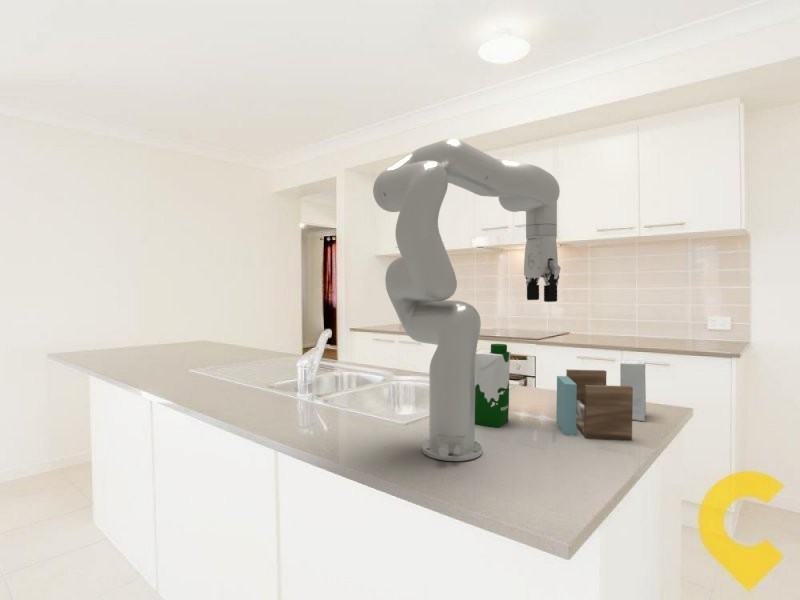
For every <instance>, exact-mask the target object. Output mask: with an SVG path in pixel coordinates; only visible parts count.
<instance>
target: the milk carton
mask: <svg viewBox="0 0 800 600" xmlns="http://www.w3.org/2000/svg"><path fill="white" fill-rule="evenodd" d="M510 363H511V351H508V345H507V344H504V343H491V344H490V350H489V349H481V350H480V349H479V350H476V360H475V425H480V426H486V427H487V426H488V427H490V428H491V427H493V428H498V429H499V428H501V427H502V426H503V425H505V424H506V423H507V422H508V421H509V411H510V410H509V409H510Z"/></svg>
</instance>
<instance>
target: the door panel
mask: <svg viewBox="0 0 800 600" xmlns="http://www.w3.org/2000/svg"><path fill="white" fill-rule="evenodd" d="M576 395H577V384H576V383H574V382H573V381H572V380H571V379H570V378H569V377H568V376H565V375H564V376H563V375H557V376H556V417H555V418H556V421H555V422H556V425H557V424H558V425H557V426H558V428H559V429H560V431H561V432H562V434H563V435H564V436H573V435H574V436H575V435H576V436H577V427H576ZM574 436H573V437H574Z"/></svg>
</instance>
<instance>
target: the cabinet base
mask: <svg viewBox="0 0 800 600" xmlns="http://www.w3.org/2000/svg"><path fill="white" fill-rule="evenodd" d="M565 375H566V376H568V377H569V378H570V379H571V380H572V381H573V382H574V383H576V384H577V395H576V426H577V427H576V429H577V430H578V431H579V430H580V431H579V432H580V433H581V434H582V436H583V437H584V438H585V439H587V438H588V439H589V440H609V441H610V440H613V441H614V440H615V441H631V440H632V441H633V420H632V408H633V387H631V386H621V385H607V370H605V369H603V370H600V369H595V370H594V369H566V374H565ZM588 439H587V440H588Z"/></svg>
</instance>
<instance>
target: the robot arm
mask: <svg viewBox="0 0 800 600" xmlns="http://www.w3.org/2000/svg"><path fill="white" fill-rule="evenodd" d="M449 184H452V185H454V186H456V187H458V188H462V189H463V190H467V191H468V192H471V193H472V194H475V195H478V196H481V197H489V198H490V197H491V198H498V201H499V204H500V205H501V207H502V208H503V209H504V210H505V211H508V212H513V213H517V212H525V239H526V241H525V250H524V258H523V259H524V264H523V275H524V277H525V280H526V282H525V285H526V300H527V301H538V300H540V284H538V283H539V281H540V279H541V278H543V281H544V283H545V284H544V285H543V301H544V302H546V303H554V302H555V303H556V302H558V285H559V279H560V272H561V266H560V265H559V264H558V261H559V260H558V259H559V258H558V257H559V256H558V246H557V245H558V244H557V239H558V200H559V197H560V194H561V190H560V185H559V182H558V180H557V179H556V178H555V177H554V175H552V174H551V172H548V171H547V170H545V169H543V168H542V167H540V166H537V165H533V164H530V163H525V162H517V161H513V160H507V159H500V158H495V157H493V156H491V155H489V154H487V153H485V152H483V151H482V150H480V149H478V148H476V147H474V146H472V145H470V144H468V143H466V142H464V141H462V140H460V139H457V138H447V139H443V140H439V141H437V142H433V143H430V144H427V145H424V146H421V147H419V148H416V149H415V150H413V151H412V152H410V153H409V154H407V155H406V156H404V157H402V159H400V160H398V161H397V162H395V163H394V164H392V165H391V166H389V167H388V168H386V169H385V170H383V171H382V172H380V173H379V174H378V176H377V177H376V178H375V181H374V183H373V187H372V193H373V198H374V200H375V201H374V202H375V203H376V204H377V205H378V207H380V209H382V210H384V211H386V212H389V213H397V212H398V213H399V214H398V216H397V220H396V221H397V222H396V224H395V225H396V226H395V240H396V244H397V247H398V251H399V253H400V256H401V257H397V258H396V259H394V260H393V261H392V262H390V264H389V265H388V267H387V269H386V272H385V276H384V277H385V278H384V279H385V280H384V281H385V289H386V293H387V294H388V295H387V296H388V298H389V299H390V302H391V304H392V306H393V308H394V310H395V313H396V315H397V317H398V319H399V321H400V324H401V325H402V328H403V329H404V332H405V333H406V334H407V336H408V337H409V338H410V339H412V340H413V341H415V342H418V343H422V344H423V343H424V344H430V345H435V346H437V347H436V350H434V353H433V355H432V358H431V360H430V362H429V363H430V364H429V373H428V374H429V376H428V377H429V387H428V388H429V395H428V396H429V408H428V409H429V411H428V412H429V413H428V414H429V415H428V416H429V417H428V419H429V420H428V421H429V422H428V423H429V424H428V425H429V427H428V429H429V430H428V431H429V433H428V434H429V436H428V439H426V440H425V441H423V442H422V443H421V451H422V454H424V455H425V456H427V457H429V458H431V459H435V460H439V461H446V462H465V461H470V460H474V459H477V458H478V457H480V456H481V455H482V453H483V446H482V445H481V443H479V442H478V441H476V424H475V360H476V352H477V348H478V343H479V339H480V338H479V337H480V332H481V327H482V326H481V324H482V323H481V321H482V320H481V316H480V314H479V312H478V310H477V309H476V307H474V306H473V305H472V304H470V303H468V302H464V301H463V300H462V301H461V300H449V299H450V298H451V297H453V296H454V295H455V292H456V290H457V286H458V285H457V284H458V280H457V277H456V273H455V270H454V267H453V264H452V263H451V262H452V261H451V260H450V257H449V255H448V251H447V250H446V247H445V244H444V242H443V239H442V236H441V234H440V230H439V229H440V228H439V215H440V210H441V207H442V205H443V202H444V199H445V197H446V194H447V191H448V186H449Z"/></svg>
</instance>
